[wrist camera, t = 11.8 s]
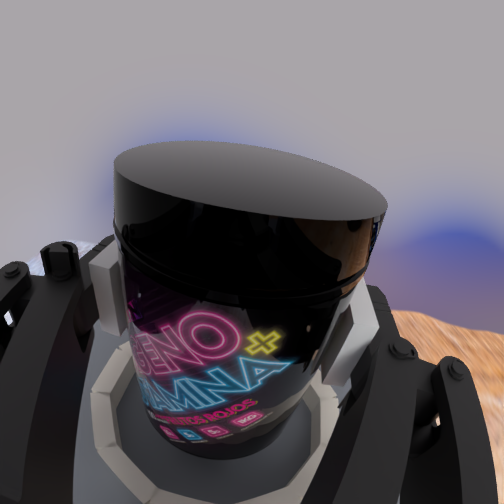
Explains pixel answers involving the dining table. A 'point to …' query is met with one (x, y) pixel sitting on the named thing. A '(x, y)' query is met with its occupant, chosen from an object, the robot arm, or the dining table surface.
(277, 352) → the supplement container
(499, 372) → the dining table surface
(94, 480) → the ring board
